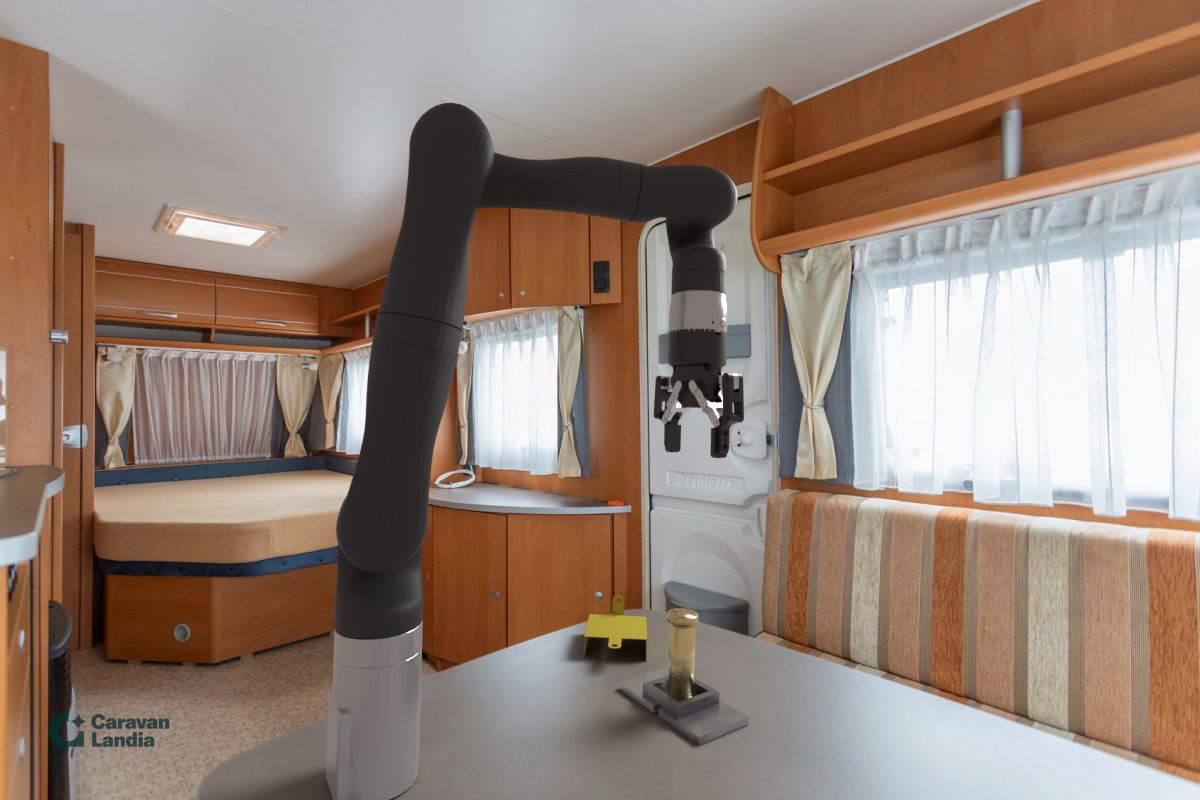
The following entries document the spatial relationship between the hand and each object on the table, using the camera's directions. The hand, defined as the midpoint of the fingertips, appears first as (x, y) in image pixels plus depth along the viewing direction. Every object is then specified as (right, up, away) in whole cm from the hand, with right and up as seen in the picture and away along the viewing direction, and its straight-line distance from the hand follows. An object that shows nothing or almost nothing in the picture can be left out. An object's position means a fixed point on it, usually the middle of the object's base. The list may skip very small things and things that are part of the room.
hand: (694, 454), depth 76 cm
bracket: (-10, -37, +25) cm, 46 cm away
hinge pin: (-1, -35, +7) cm, 36 cm away
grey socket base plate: (-1, -36, +7) cm, 37 cm away
